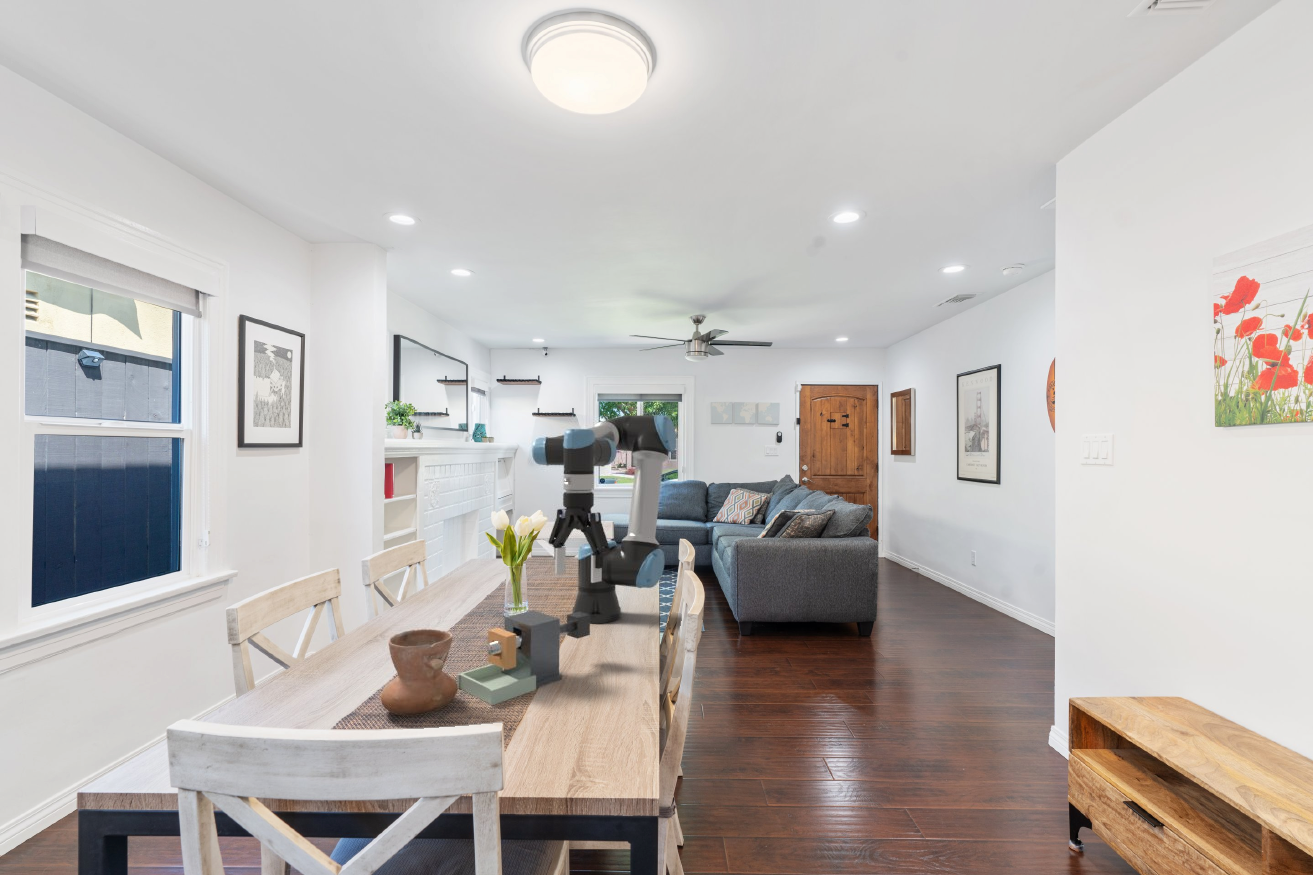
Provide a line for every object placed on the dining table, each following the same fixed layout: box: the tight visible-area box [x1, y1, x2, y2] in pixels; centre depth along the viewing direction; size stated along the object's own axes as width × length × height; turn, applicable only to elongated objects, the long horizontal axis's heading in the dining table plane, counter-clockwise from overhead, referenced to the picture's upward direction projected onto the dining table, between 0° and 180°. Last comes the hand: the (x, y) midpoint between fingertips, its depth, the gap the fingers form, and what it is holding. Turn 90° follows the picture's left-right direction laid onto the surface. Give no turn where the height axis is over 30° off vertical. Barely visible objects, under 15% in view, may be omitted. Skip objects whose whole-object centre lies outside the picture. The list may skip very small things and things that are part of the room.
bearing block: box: [501, 610, 563, 689], centre depth 140 cm, size 8×12×14 cm, turn 48°
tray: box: [456, 663, 537, 706], centre depth 133 cm, size 11×13×3 cm
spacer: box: [487, 627, 516, 670], centre depth 134 cm, size 2×7×7 cm, turn 48°
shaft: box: [486, 612, 591, 655], centre depth 142 cm, size 27×4×5 cm, turn 138°
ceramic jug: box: [380, 628, 459, 717], centre depth 124 cm, size 18×14×14 cm
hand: (577, 577), depth 151 cm, fingers open, 13 cm apart
